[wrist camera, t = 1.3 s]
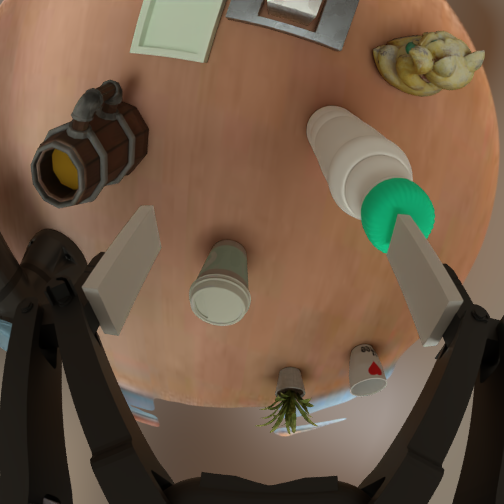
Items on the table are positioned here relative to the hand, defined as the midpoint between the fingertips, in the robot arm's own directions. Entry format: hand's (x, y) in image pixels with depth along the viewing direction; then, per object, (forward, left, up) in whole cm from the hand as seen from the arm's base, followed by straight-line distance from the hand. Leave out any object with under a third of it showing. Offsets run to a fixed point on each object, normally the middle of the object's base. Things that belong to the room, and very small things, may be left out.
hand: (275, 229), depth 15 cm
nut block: (-3, +17, -26) cm, 31 cm away
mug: (-22, -5, -26) cm, 34 cm away
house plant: (+20, -52, -26) cm, 61 cm away
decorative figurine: (+13, +15, -26) cm, 33 cm away
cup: (+34, -39, -26) cm, 58 cm away
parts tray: (-16, +11, -26) cm, 32 cm away
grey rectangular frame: (-3, +17, -26) cm, 31 cm away
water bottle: (+7, +2, -26) cm, 27 cm away
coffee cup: (-1, -22, -26) cm, 34 cm away
